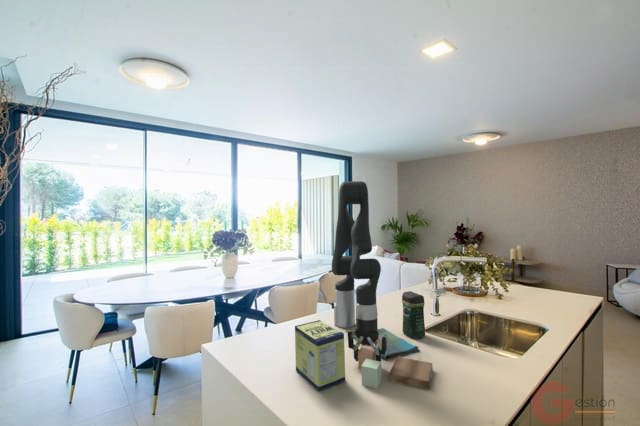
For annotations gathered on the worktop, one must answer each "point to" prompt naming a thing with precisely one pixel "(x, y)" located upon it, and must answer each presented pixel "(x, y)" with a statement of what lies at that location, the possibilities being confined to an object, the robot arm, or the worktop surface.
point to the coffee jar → (413, 315)
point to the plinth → (411, 372)
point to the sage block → (371, 373)
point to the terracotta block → (365, 355)
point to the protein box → (320, 354)
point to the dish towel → (394, 345)
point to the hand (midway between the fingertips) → (367, 362)
